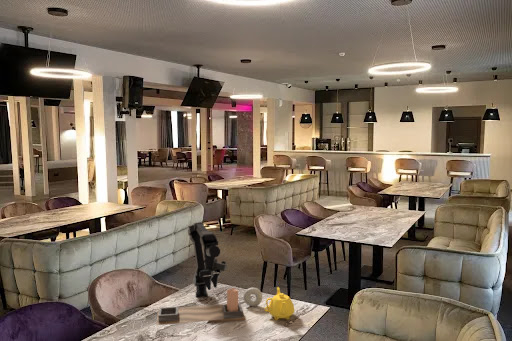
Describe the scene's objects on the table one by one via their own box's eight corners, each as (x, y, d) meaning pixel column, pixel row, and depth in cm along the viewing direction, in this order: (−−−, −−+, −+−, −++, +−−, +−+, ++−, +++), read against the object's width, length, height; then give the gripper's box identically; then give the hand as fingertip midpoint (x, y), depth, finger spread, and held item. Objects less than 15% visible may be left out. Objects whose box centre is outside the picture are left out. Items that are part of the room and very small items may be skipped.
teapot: (262, 308, 214) (262, 286, 213) (290, 307, 215) (290, 285, 214) (267, 326, 194) (267, 302, 193) (298, 325, 195) (298, 301, 194)
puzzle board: (158, 312, 209) (158, 303, 209) (240, 306, 216) (240, 297, 216) (156, 327, 192) (155, 318, 192) (245, 320, 199) (245, 311, 199)
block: (227, 313, 204) (226, 289, 203) (234, 311, 206) (234, 288, 205) (231, 316, 200) (230, 292, 199) (238, 314, 203) (238, 290, 202)
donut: (262, 304, 218) (262, 286, 217) (262, 307, 214) (262, 289, 214) (243, 304, 218) (243, 286, 217) (243, 307, 215) (243, 288, 214)
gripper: (218, 257, 203) (221, 289, 200) (229, 255, 221) (232, 285, 218) (197, 259, 205) (200, 291, 202) (210, 257, 223) (212, 287, 220)
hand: (212, 288), depth 211 cm, fingers open, 9 cm apart
